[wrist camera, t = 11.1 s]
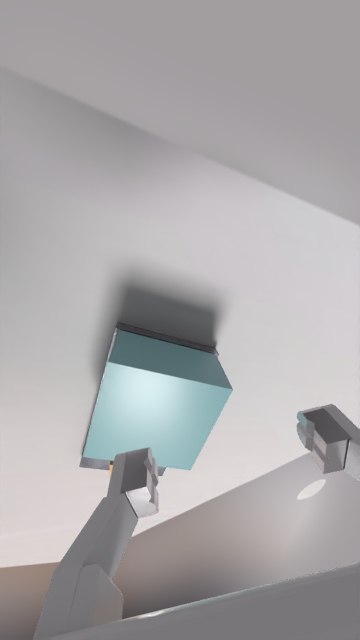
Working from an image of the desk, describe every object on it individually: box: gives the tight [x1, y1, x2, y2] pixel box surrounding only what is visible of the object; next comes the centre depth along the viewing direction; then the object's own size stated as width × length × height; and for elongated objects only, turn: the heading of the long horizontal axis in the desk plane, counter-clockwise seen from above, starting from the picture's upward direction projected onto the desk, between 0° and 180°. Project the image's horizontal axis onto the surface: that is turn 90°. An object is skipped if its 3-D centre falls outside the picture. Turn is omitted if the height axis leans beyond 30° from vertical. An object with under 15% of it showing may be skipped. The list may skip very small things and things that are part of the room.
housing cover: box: [83, 330, 233, 470], centre depth 24 cm, size 12×12×6 cm
